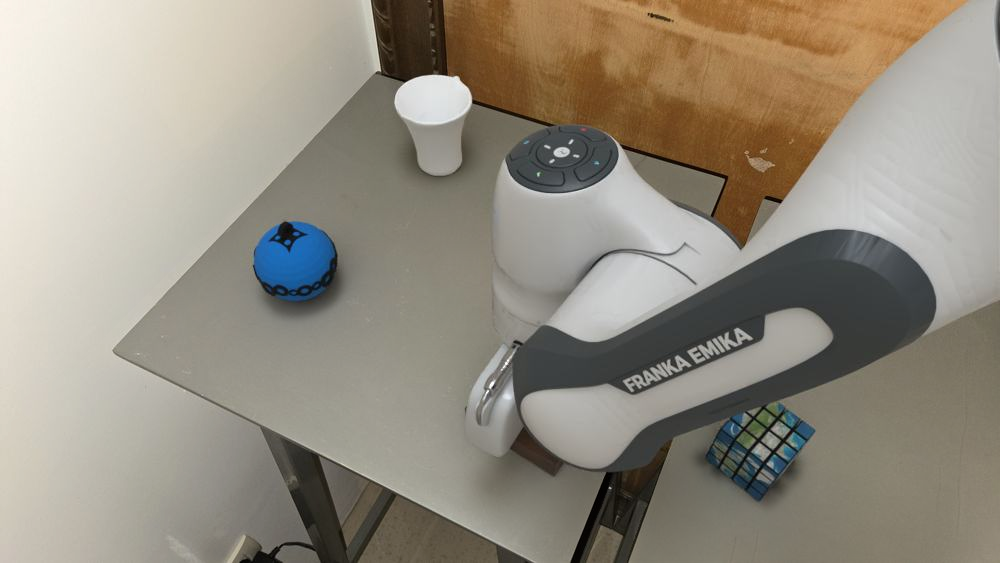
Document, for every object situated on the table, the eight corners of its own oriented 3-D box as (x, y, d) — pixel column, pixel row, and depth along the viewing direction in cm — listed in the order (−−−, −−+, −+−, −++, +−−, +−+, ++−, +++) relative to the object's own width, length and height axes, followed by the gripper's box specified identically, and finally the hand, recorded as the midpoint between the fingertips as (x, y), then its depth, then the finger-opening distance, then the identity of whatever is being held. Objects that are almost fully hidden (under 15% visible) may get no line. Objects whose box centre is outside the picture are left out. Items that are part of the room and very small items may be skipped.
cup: (490, 155, 95) (489, 91, 87) (440, 197, 90) (434, 133, 82) (437, 125, 98) (432, 60, 90) (387, 163, 94) (377, 99, 86)
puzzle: (795, 458, 70) (817, 429, 65) (758, 502, 68) (778, 475, 63) (741, 417, 73) (758, 386, 68) (704, 457, 70) (719, 428, 65)
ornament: (309, 330, 79) (288, 271, 71) (247, 295, 81) (220, 235, 73) (360, 275, 83) (345, 213, 75) (299, 243, 86) (279, 181, 78)
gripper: (515, 424, 53) (512, 498, 64) (638, 234, 63) (617, 326, 74) (440, 383, 55) (449, 462, 66) (572, 206, 65) (561, 299, 76)
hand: (539, 389), depth 70 cm, fingers closed on stamp, 2 cm apart
